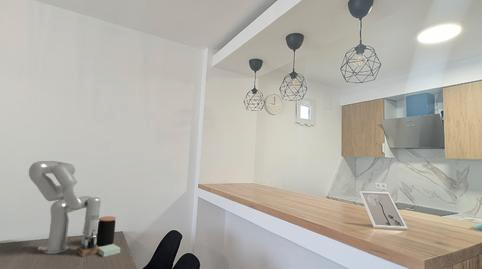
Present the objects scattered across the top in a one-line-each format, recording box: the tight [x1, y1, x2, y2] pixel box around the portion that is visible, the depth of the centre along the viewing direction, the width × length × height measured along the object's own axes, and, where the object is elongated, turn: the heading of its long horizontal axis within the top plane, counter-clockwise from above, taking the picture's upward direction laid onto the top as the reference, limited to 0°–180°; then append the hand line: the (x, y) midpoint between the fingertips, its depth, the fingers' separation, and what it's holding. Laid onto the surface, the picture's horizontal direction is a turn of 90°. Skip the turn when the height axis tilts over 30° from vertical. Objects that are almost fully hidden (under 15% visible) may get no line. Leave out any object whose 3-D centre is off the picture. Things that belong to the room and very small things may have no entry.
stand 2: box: [97, 243, 121, 257], centre depth 162 cm, size 10×10×3 cm
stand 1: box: [76, 245, 99, 258], centre depth 160 cm, size 10×10×3 cm
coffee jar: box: [96, 215, 117, 247], centre depth 176 cm, size 11×11×18 cm
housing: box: [80, 235, 97, 250], centre depth 161 cm, size 6×6×7 cm
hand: (88, 245), depth 160 cm, fingers closed on housing, 6 cm apart
